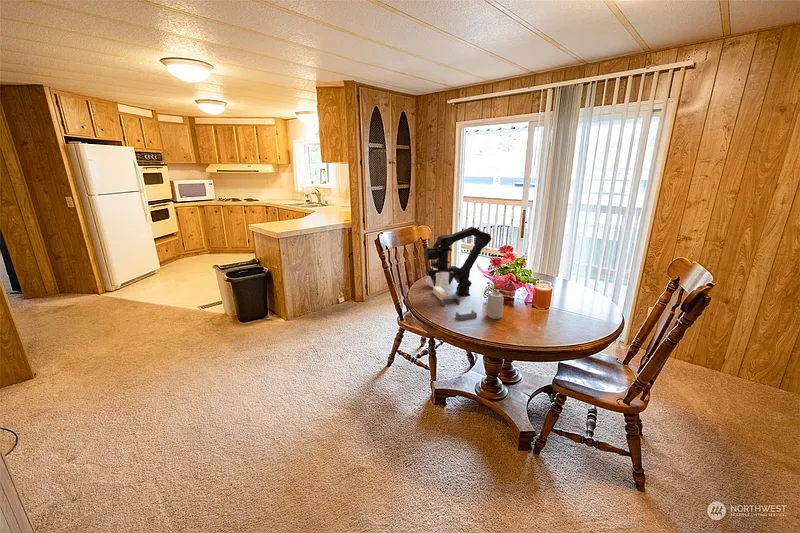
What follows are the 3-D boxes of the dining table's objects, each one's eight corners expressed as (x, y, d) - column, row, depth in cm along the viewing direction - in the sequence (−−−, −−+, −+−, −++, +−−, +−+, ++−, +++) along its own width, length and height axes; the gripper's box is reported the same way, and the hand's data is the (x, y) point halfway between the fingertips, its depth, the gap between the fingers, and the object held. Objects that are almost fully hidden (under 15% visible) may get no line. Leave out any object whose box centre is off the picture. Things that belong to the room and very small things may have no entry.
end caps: (456, 301, 184) (456, 297, 183) (476, 317, 164) (476, 313, 163) (440, 303, 181) (440, 299, 180) (459, 320, 161) (459, 315, 160)
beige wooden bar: (439, 292, 198) (439, 286, 197) (449, 302, 184) (450, 295, 183) (433, 293, 198) (433, 286, 196) (443, 303, 183) (443, 296, 182)
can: (502, 314, 168) (504, 292, 164) (501, 320, 161) (503, 297, 158) (487, 312, 170) (488, 290, 167) (485, 318, 163) (487, 295, 160)
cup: (425, 283, 213) (426, 268, 210) (440, 282, 215) (441, 268, 212) (430, 288, 204) (430, 273, 201) (445, 287, 205) (446, 272, 203)
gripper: (451, 254, 194) (450, 279, 199) (421, 256, 189) (421, 282, 193) (460, 258, 184) (459, 285, 189) (429, 261, 179) (428, 288, 183)
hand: (441, 285), depth 189 cm, fingers open, 9 cm apart
